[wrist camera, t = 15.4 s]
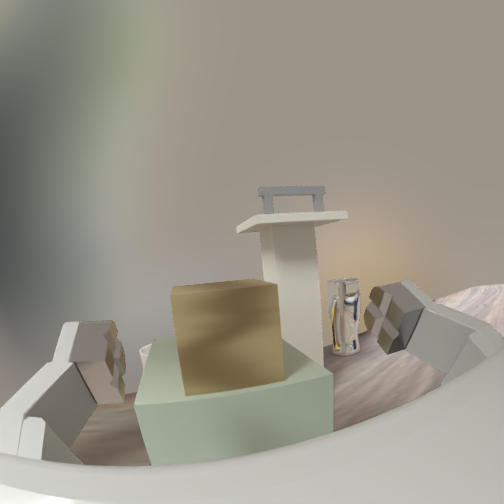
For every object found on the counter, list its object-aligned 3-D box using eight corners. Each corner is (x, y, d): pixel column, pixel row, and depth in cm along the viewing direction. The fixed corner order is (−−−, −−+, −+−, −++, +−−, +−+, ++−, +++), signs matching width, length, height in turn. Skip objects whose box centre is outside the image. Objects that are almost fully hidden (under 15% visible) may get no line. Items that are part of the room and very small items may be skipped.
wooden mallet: (185, 396, 13) (170, 295, 13) (181, 335, 26) (174, 279, 26) (284, 380, 14) (277, 283, 14) (236, 329, 27) (231, 274, 27)
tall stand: (274, 423, 34) (252, 182, 35) (252, 389, 46) (234, 202, 46) (355, 400, 37) (343, 181, 37) (319, 374, 49) (306, 199, 49)
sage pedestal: (193, 563, 12) (133, 404, 12) (182, 471, 25) (153, 339, 25) (326, 535, 14) (333, 373, 14) (275, 455, 27) (264, 326, 27)
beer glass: (337, 359, 55) (334, 283, 55) (324, 349, 62) (320, 280, 62) (368, 352, 56) (366, 278, 56) (353, 343, 63) (350, 277, 63)
